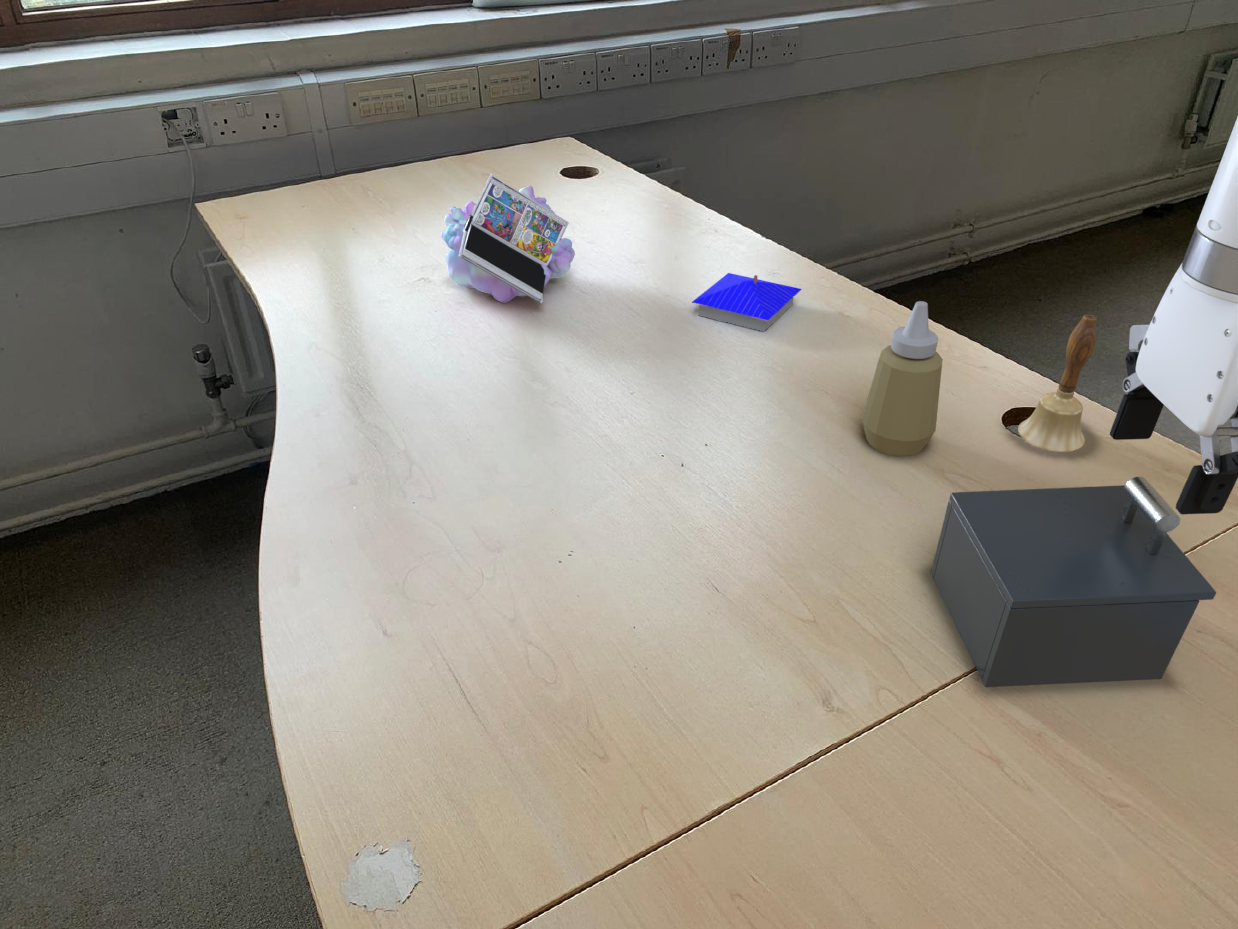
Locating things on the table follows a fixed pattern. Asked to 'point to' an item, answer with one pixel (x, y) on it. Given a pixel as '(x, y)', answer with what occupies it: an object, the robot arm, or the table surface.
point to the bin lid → (1081, 545)
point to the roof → (746, 301)
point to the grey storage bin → (1050, 626)
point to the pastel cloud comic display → (506, 243)
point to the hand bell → (1063, 398)
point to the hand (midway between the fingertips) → (1161, 472)
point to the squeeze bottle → (905, 389)
